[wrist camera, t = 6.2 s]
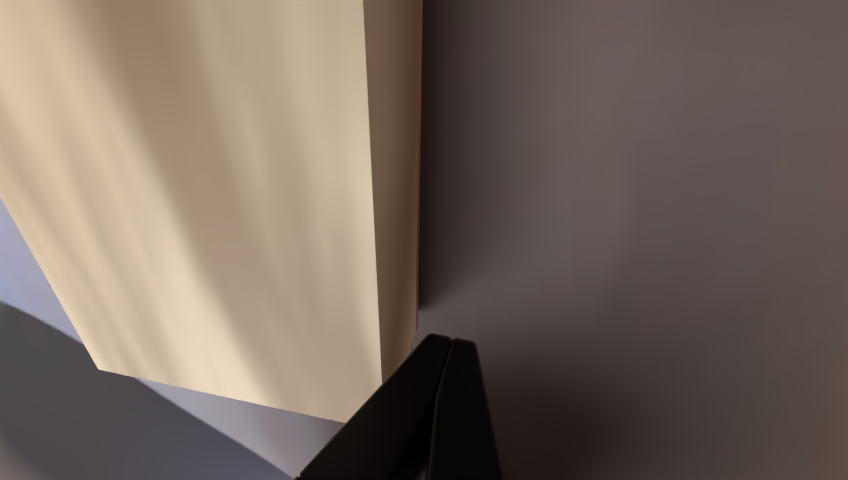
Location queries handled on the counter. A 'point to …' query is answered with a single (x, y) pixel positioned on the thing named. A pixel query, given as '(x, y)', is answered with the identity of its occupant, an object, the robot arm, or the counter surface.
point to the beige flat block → (222, 187)
